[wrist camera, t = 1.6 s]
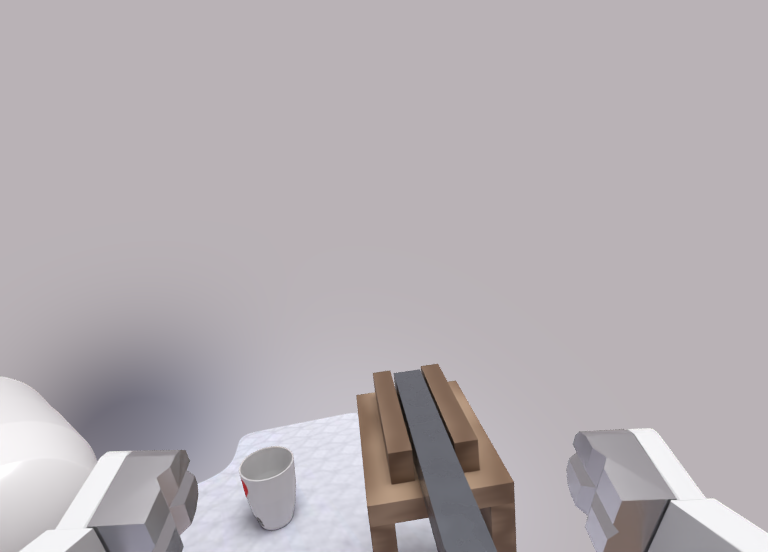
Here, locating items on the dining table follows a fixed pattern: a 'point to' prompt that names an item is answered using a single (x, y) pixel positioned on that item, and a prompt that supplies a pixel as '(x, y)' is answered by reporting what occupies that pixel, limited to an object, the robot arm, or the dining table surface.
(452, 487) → the bar
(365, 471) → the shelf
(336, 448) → the dining table surface
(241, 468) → the cup
